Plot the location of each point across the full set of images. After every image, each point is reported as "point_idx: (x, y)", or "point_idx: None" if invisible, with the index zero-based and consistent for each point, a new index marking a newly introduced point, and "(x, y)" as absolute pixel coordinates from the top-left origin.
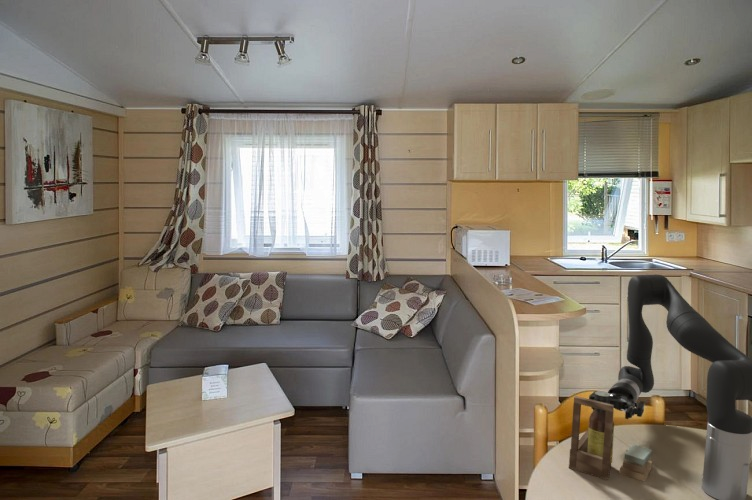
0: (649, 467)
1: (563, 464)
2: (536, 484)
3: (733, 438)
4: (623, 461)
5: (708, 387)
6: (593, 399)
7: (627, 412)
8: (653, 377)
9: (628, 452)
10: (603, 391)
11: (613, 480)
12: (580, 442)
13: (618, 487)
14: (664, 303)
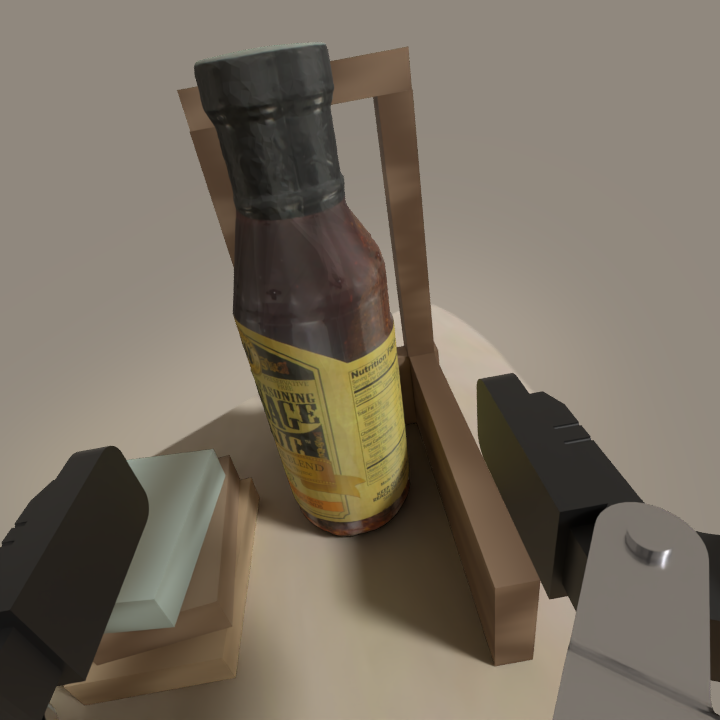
0: None
1: (468, 410)
2: (445, 311)
3: None
4: (228, 464)
5: None
6: (708, 545)
7: (91, 452)
8: None
9: (193, 472)
10: (264, 47)
11: (273, 444)
12: (441, 403)
13: (251, 422)
14: None
